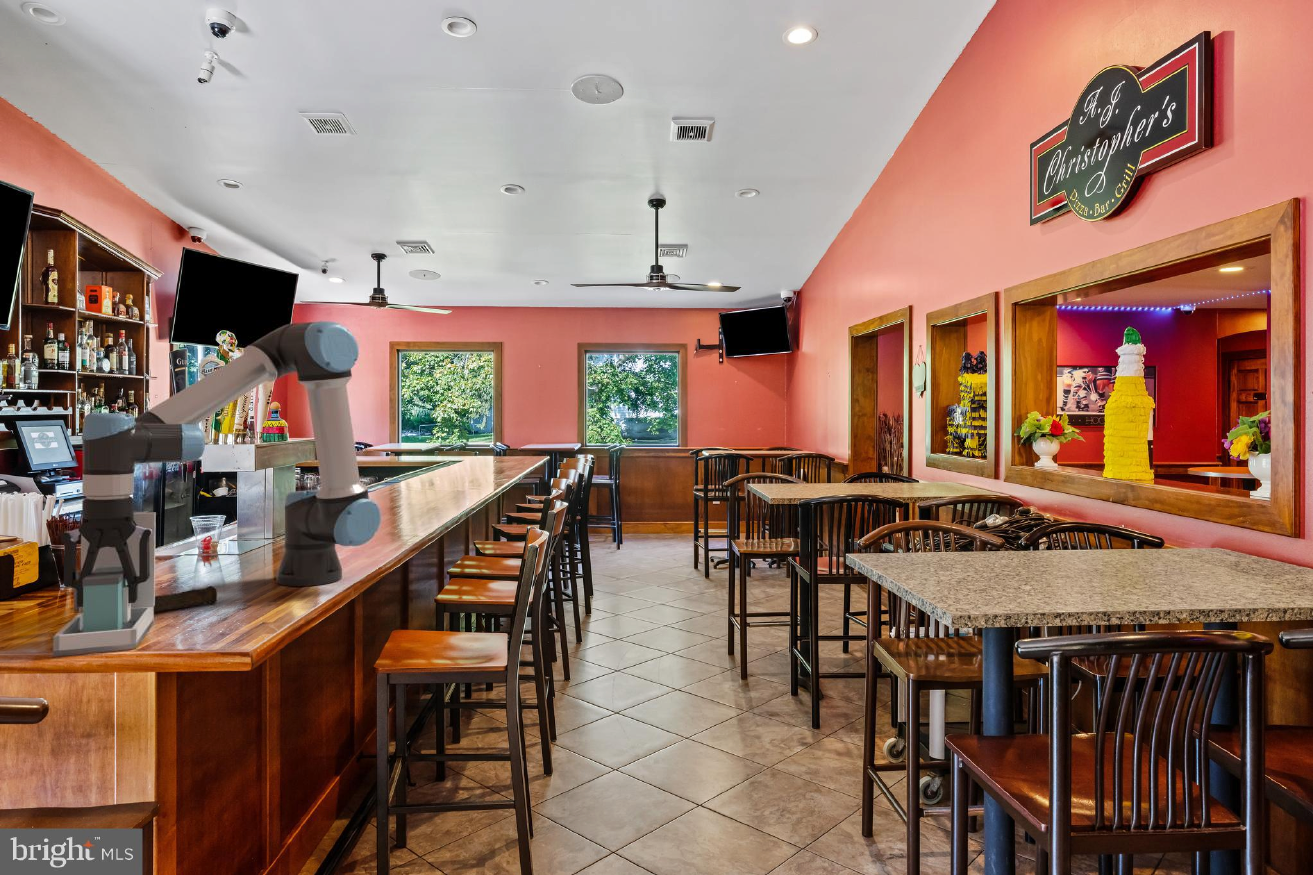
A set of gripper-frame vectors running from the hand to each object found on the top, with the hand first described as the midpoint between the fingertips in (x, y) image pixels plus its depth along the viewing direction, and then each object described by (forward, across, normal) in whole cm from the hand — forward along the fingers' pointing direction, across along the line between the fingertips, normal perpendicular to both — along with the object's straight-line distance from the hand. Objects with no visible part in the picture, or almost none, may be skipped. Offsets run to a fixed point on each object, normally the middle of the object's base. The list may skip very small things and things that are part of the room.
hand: (107, 621), depth 132 cm
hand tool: (+4, -7, -17) cm, 19 cm away
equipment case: (+3, 0, 0) cm, 3 cm away
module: (+1, 0, 0) cm, 1 cm away
